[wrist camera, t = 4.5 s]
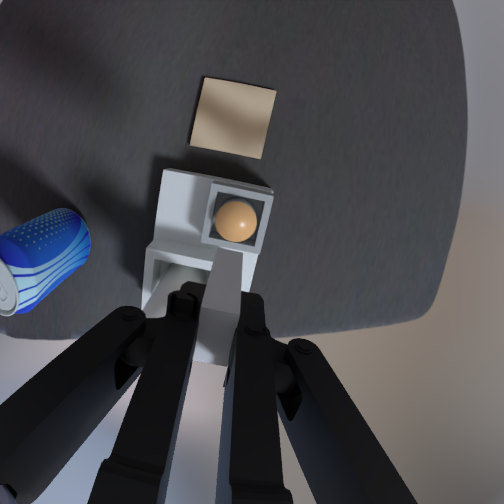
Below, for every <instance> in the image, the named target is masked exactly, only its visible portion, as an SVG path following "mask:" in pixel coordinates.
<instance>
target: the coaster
mask: <svg viewBox="0 0 504 504" xmlns="http://www.w3.org/2000/svg"><path fill="white" fill-rule="evenodd" d="M275 95H276V91H274V90H269V89H265V88H260V87H256V86H251V85H246V84H240V83H235V82H229V81H224V80H217V79H211V78H205V80H204V84H203V88H202V92H201V96H200V101H199V105H198V109H197V114H196V118H195V123H194V127H193V132H192V137H191V142H190V146H196V147H202V148H207V149H213V150H218V151H223V152H228V153H233V154H238V155H243V156H248V157H253V158H257V159H261V155H262V151H263V146H264V142H265V138H266V133H267V129H268V125H269V121H270V116H271V112H272V108H273V104H274V99H275Z"/></svg>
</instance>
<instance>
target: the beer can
mask: <svg viewBox="0 0 504 504" xmlns="http://www.w3.org/2000/svg"><path fill="white" fill-rule="evenodd" d="M90 249H91V239H90V233H89V229H88V227H87V225H86V223H85V222H84V220H83V219H82V218H81V217H80V216H79V215H78V214H77V213H75V212H74V211H72V210H70V209H67V208H57V209H54V210H52V211H50V212H47V213H45V214H43V215H41V216H38V217H36V218H34V219H32V220H30V221H28V222H25V223H23V224H21V225H19V226H17V227H15V228H13V229H11V230H9V231H7V232H5V233H3V234H1V235H0V314H1V315H3V316H11V315H13V314H14V313H18V314H22V313H27V312H29V311H30V310H32V309H33V308H34V307H35V306H36V305H37V304H38V303H39V302H40V301H41V300H42V299H44V298H45V297H46V296H47V295H48V294H49V293H50V292H51V291H52V290H54V289H55V288H56V287H57V286H58V285H59V284H60V283H62V282H63V281H64V280H65V279H66V278H67V277H68V276H70V275H71V274H72V273H73V272H74V271H75V270H77V269H78V268H79V267H80V266H81V265H83V264H84V263H85V261H86V260H87V258H88V256H89V254H90Z"/></svg>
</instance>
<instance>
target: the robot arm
mask: <svg viewBox="0 0 504 504" xmlns="http://www.w3.org/2000/svg"><path fill="white" fill-rule="evenodd" d="M242 265H243V253H242V252H237V251H232V250H227V249H223V248H218V247H217V250H216V254H215V257H214V261H213V264H212V268H211V271H210V275H209V278H208V282H207V285H206V284H201V283H197V282H192V281H187V282H185V283H184V284H182V286H181V288H180V290H176V291H173V292H171V293H170V294H169V295H168V299H167V309H166V314H165V316H164V317H160V318H146V314H145V313H144V311H143V310H141V309H139V308H137V307H133V306H122V307H119V308H117V309H115V310H114V311H113V312H111V313H110V314H109V315H108V316H106V317H105V318H104V319H103V320H101V321H100V322H99V323H98V324H96V325H95V326H94V327H93V328H91V329H90V330H89V331H88V332H86V333H85V334H84V335H83V336H81V337H80V338H79V339H78V340H76V341H75V342H74V343H73V344H72V345H70V346H69V347H68V348H67V349H66V350H64V351H63V352H62V353H61V354H59V355H58V356H57V357H56V358H55V359H54V360H52V361H51V362H50V363H49V364H47V365H46V366H45V367H44V368H43V369H41V370H40V371H39V372H38V373H37V374H36V375H34V376H33V377H32V378H31V379H30V380H29V381H28V382H26V383H25V384H24V385H23V386H22V387H20V388H19V389H18V390H17V391H16V392H15V393H13V394H12V395H11V396H10V397H9V398H8V399H7V400H6V401H4V402H3V403H2V404H1V405H0V504H31V503H32V502H34V501H35V500H36V499H37V498H38V497H39V496H40V495H41V494H42V492H43V491H44V490H45V489H46V488H47V487H48V485H49V484H50V483H51V482H52V481H53V479H54V478H55V477H56V476H57V474H58V473H59V472H60V470H61V469H62V468H63V467H64V466H65V464H66V463H67V462H68V461H69V460H70V458H71V457H72V456H73V455H74V453H75V452H76V451H77V450H78V448H79V447H80V446H81V445H82V444H83V443H84V441H85V440H86V439H87V438H88V436H89V435H90V434H91V433H92V432H93V430H94V429H95V428H96V427H97V426H98V424H99V423H100V422H101V421H102V420H103V418H104V417H105V416H106V415H107V413H108V412H109V411H110V410H111V409H112V407H113V406H114V405H115V404H116V403H117V401H118V400H119V399H120V398H121V396H122V395H123V394H124V393H125V392H126V391H127V389H128V388H129V387H130V386H131V385H132V383H133V382H134V381H135V380H136V379H137V377H138V376H139V375H140V374H141V375H140V377H139V380H138V382H137V385H136V388H135V390H134V393H133V395H132V398H131V401H130V404H129V406H128V408H127V411H126V414H125V417H124V419H123V422H122V425H121V428H120V430H119V433H118V436H117V439H116V441H115V444H114V447H113V450H112V453H111V455H110V457H109V458H108V459H104V461H103V462H102V463H101V466H100V468H99V470H98V473H97V476H96V479H95V482H94V485H93V488H92V492H91V494H90V497H89V500H88V503H87V504H165V498H166V492H167V486H168V481H169V475H170V470H171V465H172V460H173V455H174V450H175V444H176V439H177V434H178V429H179V424H180V420H181V415H182V409H183V405H184V400H185V395H186V391H187V386H188V382H189V377H190V372H191V367H192V361H193V360H195V361H200V362H205V363H210V364H216V365H221V366H228V368H227V373H226V377H225V381H224V385H223V387H225V391H224V402H223V413H222V425H221V436H220V449H219V462H218V473H217V486H216V499H215V504H293V499H292V494H291V492H290V490H288V489H286V488H285V487H284V483H283V472H282V460H281V448H280V437H279V424H278V414H277V411H278V413H279V416H280V418H281V421H282V423H283V425H284V428H285V430H286V433H287V435H288V438H289V440H290V442H291V445H292V447H293V449H294V452H295V454H296V457H297V459H298V461H299V464H300V466H301V469H302V471H303V473H304V476H305V478H306V480H307V483H308V485H309V487H310V489H311V492H312V494H313V496H314V499H315V501H316V503H317V504H418V503H417V502H416V500H415V499H414V497H413V495H412V494H411V492H410V491H409V489H408V488H407V486H406V484H405V483H404V481H403V480H402V478H401V476H400V475H399V473H398V472H397V470H396V468H395V467H394V465H393V464H392V462H391V461H390V459H389V457H388V456H387V454H386V453H385V451H384V450H383V448H382V447H381V445H380V443H379V442H378V440H377V439H376V437H375V435H374V434H373V432H372V431H371V429H370V427H369V426H368V425H367V423H366V421H365V420H364V418H363V417H362V415H361V413H360V412H359V410H358V409H357V407H356V406H355V404H354V402H353V401H352V399H351V398H350V396H349V395H348V393H347V391H346V390H345V388H344V387H343V385H342V384H341V382H340V380H339V379H338V377H337V376H336V374H335V373H334V371H333V369H332V368H331V366H330V365H329V363H328V362H327V360H326V359H325V357H324V356H323V354H322V352H321V351H320V349H319V348H318V347H317V346H316V344H314V343H312V342H311V341H309V340H306V339H300V338H297V339H292V340H291V341H289V343H288V345H287V344H284V343H282V342H279V341H277V340H275V339H273V338H272V337H271V336H270V331H269V329H268V328H267V327H266V325H265V313H264V301H263V299H262V298H261V296H260V295H259V294H255V293H250V292H245V291H241V284H242Z"/></svg>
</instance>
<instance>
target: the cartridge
mask: <svg viewBox="0 0 504 504" xmlns="http://www.w3.org/2000/svg"><path fill="white" fill-rule="evenodd" d="M187 281H192V282H197V283H201V284H206V285H207V275H206V272H205V270H204V269H200V268H195V267H190V266H185V265H181V264H176V263H172V264H171V265H170V266H169V267H168V269H167V271H166V272H165V274H164V275H163V277H162V279H161V280H160V282H159V283H158V285H157V287H156V288H155V290H154V292H153V293H152V295H151V297H150V298H149V300H148V302H147V303H146V305H145V307H144V308H143V311H144V313H145V314H146V318H160V317H164V316H165V314H166V309H167V299H168V295H169V294H170V293H171V292H173V291H176V290H180V288H181V286H182V284H184V283H185V282H187Z"/></svg>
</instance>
